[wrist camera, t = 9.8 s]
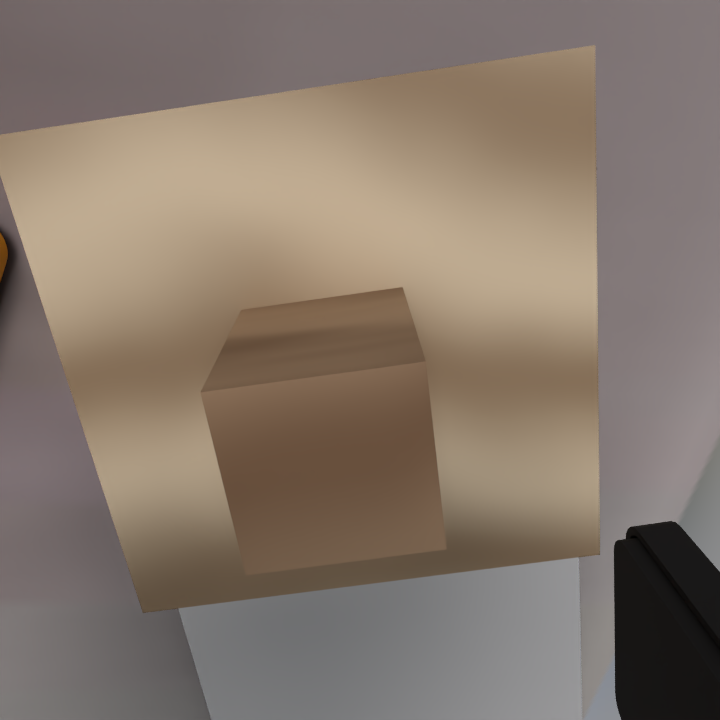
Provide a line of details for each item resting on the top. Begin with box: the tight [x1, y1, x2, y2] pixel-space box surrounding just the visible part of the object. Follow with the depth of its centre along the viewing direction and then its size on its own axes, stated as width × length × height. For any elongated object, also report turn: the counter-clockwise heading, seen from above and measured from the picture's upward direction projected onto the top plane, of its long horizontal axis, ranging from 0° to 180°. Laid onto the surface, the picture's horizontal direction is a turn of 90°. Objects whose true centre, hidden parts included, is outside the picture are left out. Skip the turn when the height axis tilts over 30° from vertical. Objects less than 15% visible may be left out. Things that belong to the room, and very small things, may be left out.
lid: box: [0, 45, 600, 613], centre depth 15 cm, size 14×14×6 cm
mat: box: [178, 557, 582, 720], centre depth 29 cm, size 16×16×1 cm
